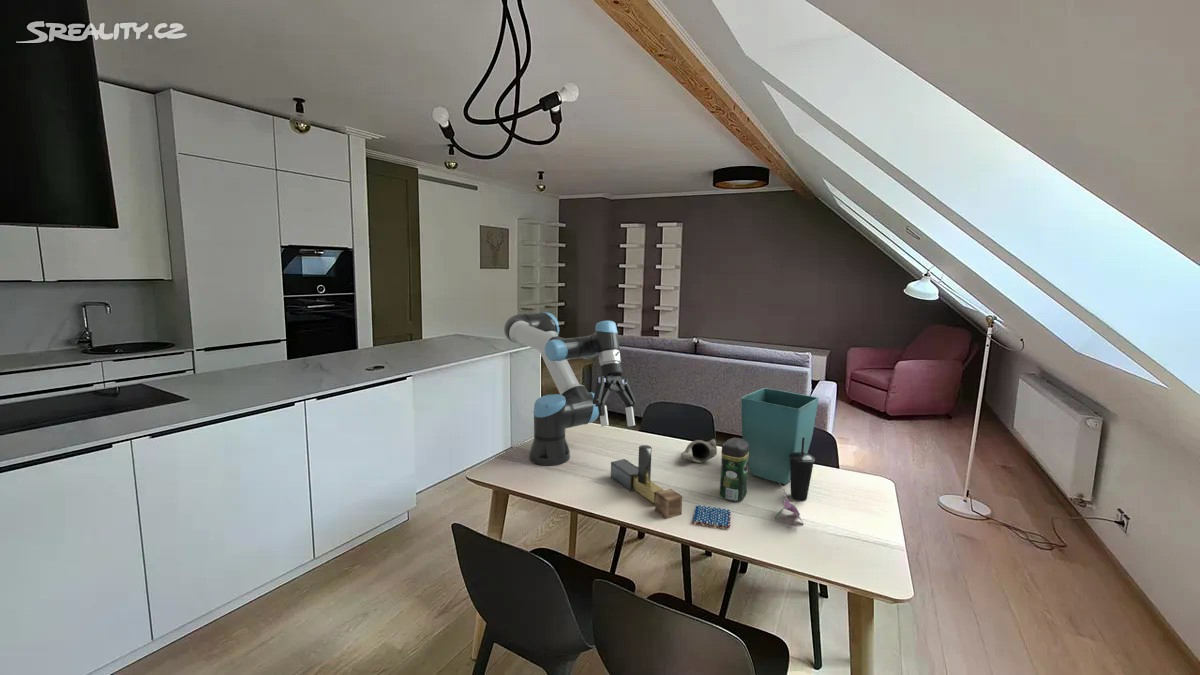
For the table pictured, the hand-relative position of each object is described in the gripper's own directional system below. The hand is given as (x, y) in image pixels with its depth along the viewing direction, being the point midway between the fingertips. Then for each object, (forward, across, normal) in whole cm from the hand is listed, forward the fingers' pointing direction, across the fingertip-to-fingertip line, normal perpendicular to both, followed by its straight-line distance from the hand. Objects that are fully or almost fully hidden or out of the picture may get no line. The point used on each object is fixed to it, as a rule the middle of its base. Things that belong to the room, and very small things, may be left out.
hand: (618, 426), depth 172 cm
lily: (+34, +21, -43) cm, 59 cm away
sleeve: (+19, +5, +4) cm, 20 cm away
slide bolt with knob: (+20, +3, -2) cm, 21 cm away
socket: (+28, -1, -16) cm, 33 cm away
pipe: (+14, +40, -4) cm, 43 cm away
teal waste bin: (+22, +47, -29) cm, 60 cm away
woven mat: (+32, +6, -26) cm, 42 cm away
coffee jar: (+27, +22, -25) cm, 43 cm away
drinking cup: (+30, +36, -41) cm, 62 cm away
